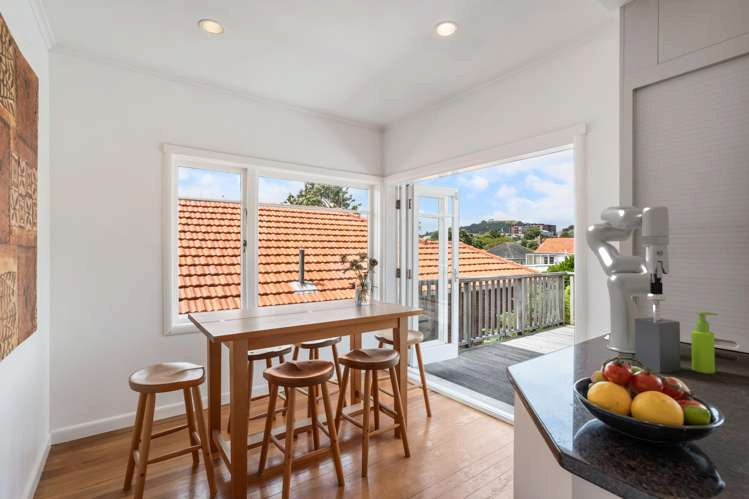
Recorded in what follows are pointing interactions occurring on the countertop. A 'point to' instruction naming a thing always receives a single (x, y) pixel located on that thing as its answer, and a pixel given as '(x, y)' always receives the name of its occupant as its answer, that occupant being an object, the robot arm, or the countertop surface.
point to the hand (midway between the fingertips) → (656, 293)
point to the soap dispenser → (703, 346)
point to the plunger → (656, 304)
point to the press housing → (658, 344)
